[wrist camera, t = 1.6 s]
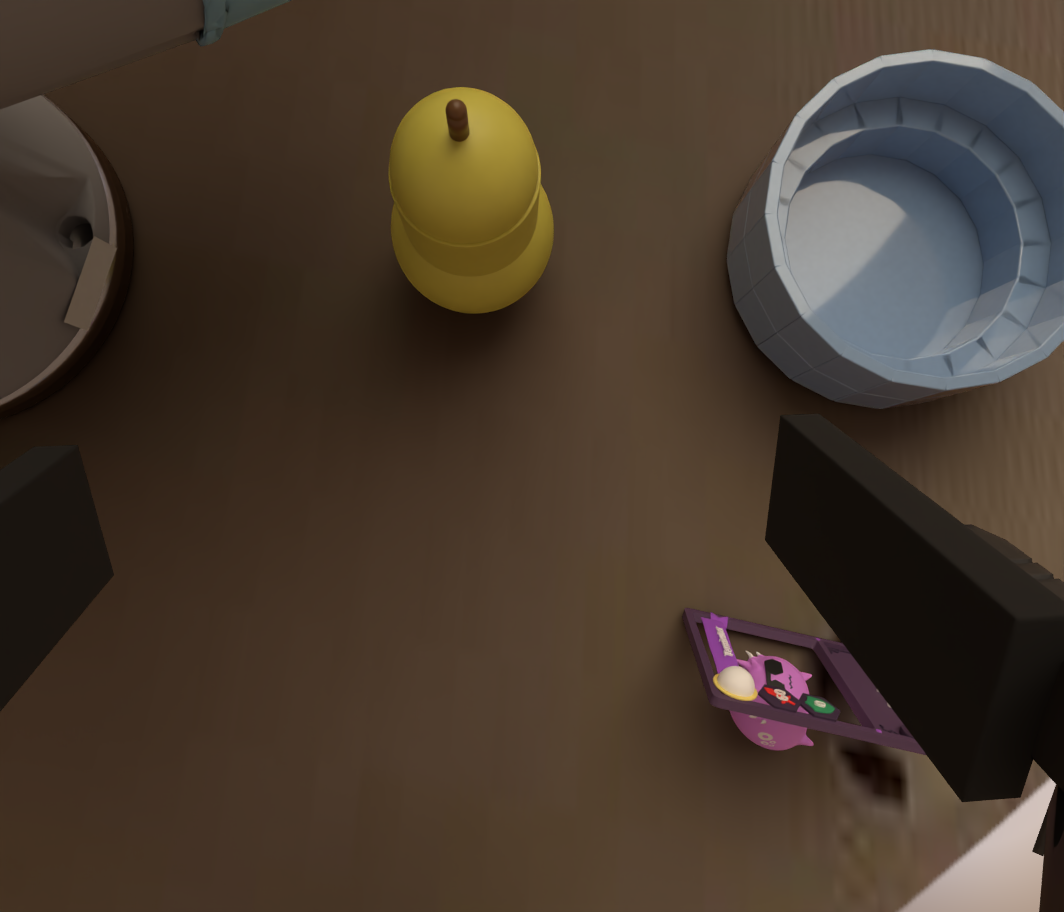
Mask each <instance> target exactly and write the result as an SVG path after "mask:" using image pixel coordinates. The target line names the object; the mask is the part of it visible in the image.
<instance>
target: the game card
mask: <svg viewBox="0 0 1064 912" xmlns="http://www.w3.org/2000/svg"><path fill="white" fill-rule="evenodd" d="M682 618H683V621H684V624H685V628H686V631H687V634H688V637H689V640H690V643H691V646H692V650H693V653H694V656H695V659H696V662H697V665H698V668H699V672H700V675H701V678H702V681H703V684H704V687H705V690H706V694H707V697H708V700H709V702H710V704H711V705H713V706H715V707H717V708H721V709H726V710H730V714H731V716H732V718H733V720H734V722H735V724H736V725H737V727H738V728H739V730H740V731H741V732H742V733H743V734H744V735H745V736H746V737H747V738H748V739H750V740H751V741H752V742H754V743H755V744H757V745H759V746H761V747H764V748H767V749H770V750H786V749H789V748H792V747H794V746H796V745H807V746H813V745H814V744H813V742H812V741H811V740H810V739H809V738H808V737H807V736H806V731H807V728H809V729H814V730H818V731H822V732H827V733H831V734H836V735H840V736H844V737H849V738H853V739H858V740H862V741H866V742H871V743H875V744H880V745H884V746H888V747H893V748H897V749H902V750H906V751H910V752H915V753H919V754H923V755H926V753H925V752H924V751H923V749H922V748H921V747H920V745H919V744H918V743H917V741H916V740H915V739H914V737H913V736H912V735H911V733H910V732H909V731H908V729H907V728H906V727H905V725H904V724H903V723H902V722H901V720H900V719H899V718H898V716H897V715H896V714H895V712H894V711H893V710H892V708H891V707H890V706H889V704H888V703H887V702H886V700H885V699H884V698H883V696H882V695H881V694H880V692H879V691H878V690H877V688H876V687H875V686H874V684H873V683H872V682H871V680H870V679H869V678H868V676H867V675H866V674H865V672H864V671H863V670H862V668H861V667H860V666H859V664H858V663H857V662H856V660H855V659H854V658H853V656H852V655H851V654H850V652H849V651H848V650H847V648H846V647H845V646H844V644H843V643H839V642H835V641H830V640H826V639H822V638H817V637H813V636H808V635H804V634H800V633H795V632H791V631H787V630H782V629H778V628H773V627H769V626H765V625H760V624H756V623H752V622H747V621H743V620H738V619H734V618H730V617H725V616H721V615H717V614H713V613H712V612H711V613H708V612H703V611H699V610H695V609H690V608H685V609H684V613H683V616H682ZM696 622H699V623H703V626H704V629H705V633H706V636H707V640H708V644H709V647H710V650H711V653H712V656H713V659H714V662H715V665H716V669H717V673H718V674H716V675H714V673H713V670H712V667H711V664H710V661H709V658H708V656H707V653H706V650H705V647H704V644H703V641H702V638H701V636H700V633H699V630H698V627H697V624H696ZM726 629H730V630H734V631H738V632H743V633H747V634H751V635H756V636H760V637H765V638H769V639H773V640H778V641H782V642H786V643H791V644H795V645H800V646H804V647H808V648H812V649H813V650H814V651H815V653H816V654H817V656H818V657H819V659H820V660H821V662H822V664H823V665H824V667H825V668H826V670H827V672H828V673H829V675H830V676H831V678H832V679H833V681H834V683H835V684H836V686H837V687H838V689H839V690H840V692H841V694H842V695H843V697H844V698H845V700H846V702H847V703H848V705H849V706H850V708H851V709H852V711H853V713H854V714H855V716H856V717H857V719H858V720H859V722H860V724H861V725H862V726H859V725H854V724H850V723H846V722H841V721H837V719H838V717H839V714H840V712H841V711H840V710H839V709H837V708H836V707H835V706H834V705H832V704H831V703H830V702H828V701H827V700H826V699H825V698H823V697H818V696H814V695H810V694H809V690H808V687H807V684H806V682H805V681H806V680H808V679H809V678H811V677H812V675H811V674H809V673H804V672H799V671H798V669H797V668H796V667H794V666H793V665H792V664H791V663H789V662H788V661H786V660H784V659H782V658H779V657H775V656H763V655H761V654H760V653H758V652H756V653H757V657H754V656H753V655H752V654H751V653H750V652H748V651H746V653H747V654H748V656H749V658H748V662H747V661H743V660H738V659H736V657H735V654H734V652H733V649H732V646H731V643H730V640H729V637H728V634H727V631H726ZM738 664H739V665H741V666H743V667H739V665H738ZM720 691H721V692H722V693H721V692H720ZM808 713H809V714H808Z"/></svg>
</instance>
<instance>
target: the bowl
mask: <svg viewBox="0 0 1064 912" xmlns="http://www.w3.org/2000/svg"><path fill="white" fill-rule="evenodd" d="M727 266H728V271H729V277H730V283H731V288H732V294H733V300H734V304H735V306H736V308H737V310H738V312H739V314H740V316H741V318H742V320H743V321H744V323H745V325H746V327H747V329H748V331H749V333H750V335H751V336H752V338H753V340H754V342H755V344H756V345H757V347H758V348H759V349H760V350H761V351H762V352H763V353H764V354H765V355H766V356H767V357H768V358H769V359H770V360H771V361H772V362H773V363H774V364H775V365H776V366H777V367H778V368H779V369H780V370H781V371H782V372H783V373H784V374H785V375H786V376H787V377H788V378H789V379H792V380H793V381H795V382H796V383H798V384H800V385H802V386H804V387H806V388H808V389H810V390H812V391H814V392H816V393H818V394H820V395H822V396H824V397H826V398H828V399H830V400H834V401H835V402H840V403H846V404H852V405H858V406H864V407H870V408H876V409H879V408H880V409H885V408H892V407H898V406H905V405H912V404H918V403H925V402H928V401H932V400H936V399H940V398H943V397H947V396H951V395H955V394H958V393H962V392H966V391H970V390H973V389H977V388H981V387H985V386H989V385H992V384H996V383H999V382H1002V381H1004V380H1006V379H1007V378H1009V377H1011V376H1013V375H1015V374H1017V373H1019V372H1021V371H1023V370H1025V369H1027V368H1029V367H1031V366H1033V365H1035V364H1037V363H1038V362H1040V361H1042V360H1044V359H1046V358H1047V357H1048V356H1049V355H1050V354H1051V353H1052V352H1053V351H1054V350H1055V349H1056V348H1057V347H1058V346H1059V345H1060V344H1061V343H1062V342H1063V341H1064V112H1063V111H1062V110H1061V109H1060V108H1059V107H1058V106H1057V105H1056V104H1055V103H1054V102H1053V101H1052V100H1051V99H1050V98H1049V97H1048V96H1047V95H1046V94H1044V93H1043V92H1042V91H1041V90H1040V89H1039V88H1038V87H1037V86H1036V85H1035V84H1034V83H1033V84H1032V82H1031V81H1029V80H1027V79H1025V78H1023V77H1021V76H1019V75H1017V74H1015V73H1013V72H1011V71H1009V70H1007V69H1005V68H1003V67H1001V66H999V65H997V64H995V63H993V62H991V61H989V60H987V59H984V58H980V57H974V56H969V55H963V54H957V53H951V52H945V51H940V50H934V49H933V50H932V49H929V50H921V51H914V52H906V53H898V54H891V55H883V56H880V57H877V58H875V59H873V60H871V61H868V62H866V63H864V64H862V65H860V66H858V67H856V68H854V69H852V70H850V71H848V72H846V73H843V74H841V75H839V76H837V77H835V78H833V79H832V80H830V81H829V82H828V83H827V84H826V85H825V86H824V87H823V88H822V89H821V90H820V91H819V92H818V93H817V94H816V95H815V96H814V97H813V98H812V99H811V100H810V101H809V102H808V103H807V104H806V105H805V106H804V107H803V108H802V109H801V110H800V111H799V112H798V113H797V114H796V115H795V116H794V118H793V119H792V120H791V122H790V123H789V125H788V126H787V127H786V129H785V130H784V132H783V133H782V134H781V136H780V137H779V139H778V140H777V141H776V143H775V144H774V146H773V147H772V148H771V150H770V151H769V153H768V154H767V155H766V157H765V158H764V160H763V161H762V162H761V164H760V165H759V167H758V168H757V169H756V171H755V172H754V174H753V175H752V177H751V179H750V181H749V183H748V185H747V187H746V189H745V191H744V193H743V195H742V197H741V199H740V201H739V203H738V205H737V207H736V209H735V211H734V214H733V217H732V224H731V231H730V238H729V245H728V252H727Z"/></svg>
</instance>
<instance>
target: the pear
mask: <svg viewBox="0 0 1064 912" xmlns="http://www.w3.org/2000/svg"><path fill="white" fill-rule="evenodd" d="M540 182H541V166H540V161H539V156H538V153H537V150H536V147H535V145H534V142H533V139H532V137H531V134H530V132H529V130H528V128H527V126H526V125H525V123H524V122H523V120H522V119H521V118H520V116H519V115H518V114H517V113H516V112H515V111H514V109H513V108H511V107H510V106H509V105H508V104H507V103H505V102H504V101H502V100H501V99H499V98H498V97H496V96H494V95H492V94H490V93H488V92H485V91H482V90H479V89H474V88H466V87H457V88H449V89H444V90H441V91H437V92H435V93H433V94H431V95H429V96H427V97H425V98H424V99H422V100H421V101H419V102H418V103H417V104H416V105H415V106H414V107H413V108H412V109H411V110H410V111H409V112H408V113H407V114H406V115H405V117H404V118H403V120H402V121H401V123H400V125H399V126H398V128H397V131H396V133H395V136H394V139H393V141H392V146H391V150H390V161H389V185H390V190H391V194H392V197H393V200H394V205H393V210H392V218H391V237H392V243H393V248H394V251H395V254H396V257H397V261H398V263H399V265H400V267H401V269H402V271H403V272H404V274H405V275H406V277H407V278H408V280H409V281H410V282H411V283H412V285H413V286H414V287H415V288H416V289H417V290H418V291H419V292H420V293H421V294H423V295H424V296H425V297H426V298H428V299H429V300H431V301H432V302H434V303H436V304H438V305H440V306H442V307H444V308H447V309H450V310H453V311H457V312H461V313H471V314H476V313H487V312H492V311H496V310H499V309H502V308H504V307H506V306H509V305H511V304H513V303H514V302H516V301H517V300H519V299H520V298H521V297H523V296H524V295H525V294H526V293H527V292H528V291H529V290H530V289H531V288H532V287H533V286H534V285H535V284H536V283H537V281H538V280H539V278H540V277H541V275H542V273H543V272H544V270H545V268H546V266H547V263H548V260H549V257H550V254H551V250H552V245H553V236H554V226H553V216H552V211H551V207H550V204H549V201H548V198H547V195H546V193H545V191H544V189H543V187H542V185H541V184H540Z"/></svg>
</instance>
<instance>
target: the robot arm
mask: <svg viewBox="0 0 1064 912" xmlns="http://www.w3.org/2000/svg"><path fill="white" fill-rule="evenodd" d="M289 1H291V0H0V419H2V418H5V417H8V416H11V415H13V414H16V413H18V412H20V411H23V410H25V409H27V408H29V407H31V406H33V405H35V404H37V403H38V402H40V401H42V400H44V399H46V398H47V397H49V396H50V395H51V394H53V393H54V392H56V391H57V390H59V389H60V388H61V387H63V386H64V385H65V384H66V383H67V382H69V381H70V380H71V379H72V378H73V377H75V376H76V375H77V374H78V373H79V372H80V371H81V370H82V369H83V368H84V367H85V366H86V364H87V363H88V362H89V361H90V360H91V359H92V357H93V356H94V355H95V354H96V352H97V351H98V350H99V348H100V347H101V345H102V344H103V342H104V341H105V339H106V338H107V337H108V335H109V333H110V331H111V329H112V327H113V326H114V324H115V322H116V320H117V318H118V315H119V313H120V310H121V308H122V306H123V303H124V300H125V297H126V293H127V290H128V286H129V281H130V276H131V271H132V262H133V231H132V222H131V217H130V212H129V207H128V203H127V200H126V197H125V194H124V191H123V188H122V186H121V184H120V181H119V179H118V177H117V175H116V173H115V171H114V169H113V167H112V166H111V164H110V162H109V161H108V159H107V158H106V156H105V155H104V153H103V152H102V151H101V149H100V148H99V146H98V145H97V144H96V143H95V142H94V141H93V140H92V138H91V137H90V136H89V135H88V134H87V133H86V132H85V131H84V130H83V129H82V128H81V127H79V126H78V125H77V124H76V123H75V122H74V121H73V120H72V119H71V118H69V117H68V116H67V115H66V114H65V113H64V112H63V111H62V110H61V109H59V108H58V107H57V106H56V105H55V104H54V103H53V102H52V101H50V100H49V99H48V98H46V97H45V96H44V95H43V94H45V93H48V92H51V91H54V90H57V89H59V88H62V87H65V86H68V85H71V84H73V83H76V82H79V81H82V80H85V79H87V78H90V77H93V76H96V75H98V74H101V73H104V72H107V71H110V70H112V69H115V68H118V67H121V66H124V65H126V64H129V63H132V62H135V61H138V60H140V59H143V58H146V57H149V56H152V55H154V54H157V53H160V52H163V51H166V50H168V49H171V48H174V47H177V46H180V45H182V44H185V43H188V42H191V41H194V40H196V41H197V42H198V44H199V45H200V46H205V45H208V44H212V43H214V42H216V41H217V40H219V39H220V37H221V35H222V33H223V30H224V28H227V27H229V26H231V25H234V24H236V23H238V22H241V21H243V20H246V19H248V18H250V17H253V16H255V15H258V14H260V13H262V12H265V11H267V10H270V9H272V8H274V7H277V6H279V5H282V4H284V3H286V2H289ZM765 541H766V542H767V543H768V545H769V546H770V547H771V549H772V550H773V551H774V553H775V554H776V555H777V557H778V558H779V559H780V561H781V562H782V563H783V565H784V566H785V567H786V569H787V570H788V571H789V573H790V574H791V575H792V577H793V578H794V579H795V580H796V582H797V583H798V584H799V586H800V587H801V588H802V590H803V591H804V592H805V594H806V595H807V596H808V598H809V599H810V600H811V602H812V603H813V604H814V606H815V607H816V608H817V610H818V611H819V612H820V614H821V615H822V616H823V618H824V619H825V620H826V622H827V623H828V624H829V626H830V627H831V628H832V630H833V631H834V632H835V634H836V635H837V636H838V638H839V639H840V640H841V642H842V643H843V644H844V646H845V647H846V648H847V650H848V651H849V652H850V654H851V655H852V656H853V658H854V659H855V660H856V662H857V663H858V664H859V666H860V667H861V668H862V670H863V671H864V672H865V674H866V675H867V676H868V678H869V679H870V680H871V682H872V683H873V684H874V686H875V687H876V688H877V690H878V691H879V692H880V694H881V695H882V696H883V698H884V699H885V700H886V702H887V703H888V704H889V706H890V707H891V708H892V710H893V711H894V712H895V714H896V715H897V716H898V718H899V719H900V720H901V722H902V723H903V724H904V725H905V727H906V728H907V729H908V731H909V732H910V733H911V735H912V736H913V737H914V739H915V740H916V741H917V743H918V744H919V745H920V747H921V748H922V749H923V751H924V752H925V753H926V755H927V756H928V757H929V759H930V760H931V761H932V763H933V764H934V765H935V767H936V768H937V769H938V771H939V772H940V773H941V775H942V776H943V777H944V779H945V780H946V781H947V783H948V784H949V785H950V787H951V788H952V789H953V791H954V792H955V793H956V795H957V796H958V797H959V799H960V800H961V801H962V802H970V801H982V800H995V799H1007V798H1020V797H1021V794H1022V791H1023V788H1024V785H1025V782H1026V779H1027V776H1028V773H1029V770H1030V767H1031V764H1032V761H1033V759H1034V760H1035V762H1036V763H1037V764H1038V765H1039V766H1040V767H1041V768H1042V769H1043V770H1044V771H1045V772H1046V774H1047V775H1048V776H1049V777H1050V778H1051V779H1052V780H1053V781H1054V782H1055V783H1056V787H1055V789H1054V792H1053V795H1052V798H1051V801H1050V803H1049V806H1048V809H1047V812H1046V815H1045V817H1044V820H1043V823H1042V826H1041V829H1040V831H1039V834H1038V837H1037V840H1036V843H1035V845H1034V848H1033V852H1035V853H1037V854H1039V855H1041V856H1043V855H1044V862H1043V874H1042V886H1041V897H1040V909H1039V912H1064V582H1063V581H1061V580H1060V579H1054V577H1053V574H1052V573H1050V572H1049V571H1048V570H1046V569H1045V568H1044V567H1042V566H1041V565H1039V564H1038V563H1032V559H1031V558H1030V557H1029V556H1027V555H1026V554H1024V553H1023V552H1022V551H1020V550H1019V549H1018V548H1016V547H1015V546H1014V545H1012V544H1011V543H1009V542H1008V541H1007V540H1005V539H1003V538H1000V537H998V536H996V535H994V534H991V533H989V532H987V531H985V530H983V529H980V528H978V527H976V526H974V525H964V524H963V523H961V522H960V521H959V520H957V519H956V518H955V517H953V516H952V515H951V514H949V513H948V512H947V511H946V510H944V509H943V508H942V507H940V506H939V505H938V504H936V503H935V502H934V501H932V500H931V499H930V498H929V497H927V496H926V495H925V494H923V493H922V492H921V491H919V490H918V489H917V488H915V487H914V486H913V485H912V484H910V483H909V482H908V481H906V480H905V479H904V478H902V477H901V476H900V475H898V474H897V473H896V472H894V471H893V470H892V469H891V468H889V467H888V466H887V465H885V464H884V463H883V462H881V461H880V460H879V459H877V458H876V457H875V456H874V455H872V454H871V453H870V452H868V451H867V450H866V449H864V448H863V447H862V446H860V445H859V444H858V443H857V442H855V441H854V440H853V439H851V438H850V437H849V436H847V435H846V434H845V433H843V432H842V431H841V430H840V429H838V428H837V427H836V426H834V425H833V424H832V423H830V422H829V421H828V420H826V419H825V418H824V417H822V416H821V415H820V414H802V415H781V416H780V424H779V432H778V440H777V448H776V456H775V464H774V472H773V480H772V488H771V496H770V504H769V512H768V520H767V528H766V536H765ZM113 575H114V573H113V570H112V566H111V563H110V559H109V555H108V552H107V548H106V545H105V541H104V538H103V534H102V530H101V527H100V523H99V520H98V516H97V513H96V509H95V505H94V502H93V498H92V495H91V491H90V487H89V484H88V480H87V477H86V473H85V470H84V466H83V462H82V459H81V455H80V452H79V448H78V445H66V446H42V447H33V448H31V449H30V450H28V451H27V452H26V453H24V454H23V455H21V456H20V457H18V458H17V459H15V460H14V461H12V462H11V463H10V464H8V465H7V466H5V467H4V468H2V469H1V470H0V711H1V710H2V709H3V708H4V706H5V705H6V704H7V703H8V702H9V700H10V699H11V698H12V697H13V696H14V694H15V693H16V692H17V691H18V690H19V688H20V687H21V686H22V685H23V684H24V682H25V681H26V680H27V679H28V678H29V676H30V675H31V674H32V673H33V672H34V670H35V669H36V668H37V667H38V666H39V664H40V663H41V662H42V661H43V660H44V658H45V657H46V656H47V655H48V654H49V652H50V651H51V650H52V649H53V648H54V646H55V645H56V644H57V643H58V641H59V640H60V639H61V638H62V637H63V635H64V634H65V633H66V632H67V631H68V629H69V628H70V627H71V626H72V625H73V623H74V622H75V621H76V620H77V619H78V617H79V616H80V615H81V614H82V613H83V611H84V610H85V609H86V608H87V607H88V605H89V604H90V603H91V602H92V601H93V599H94V598H95V597H96V596H97V595H98V593H99V592H100V591H101V590H102V589H103V587H104V586H105V585H106V584H107V583H108V581H109V580H110V579H111V578H112V577H113Z"/></svg>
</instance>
